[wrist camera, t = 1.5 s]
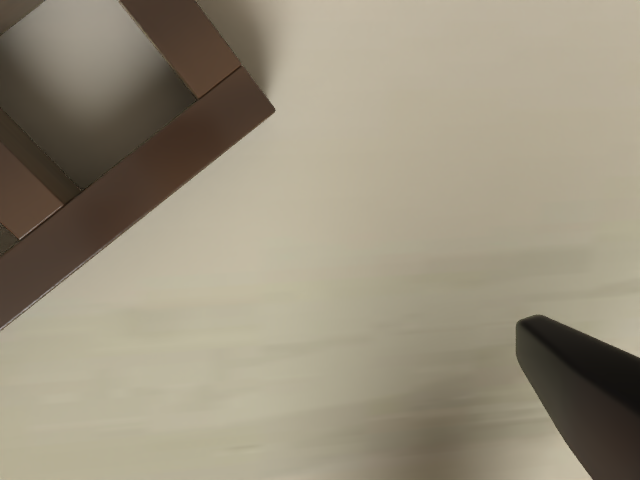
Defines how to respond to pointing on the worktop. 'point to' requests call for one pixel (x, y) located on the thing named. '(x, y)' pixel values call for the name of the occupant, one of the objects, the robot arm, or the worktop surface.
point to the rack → (131, 172)
